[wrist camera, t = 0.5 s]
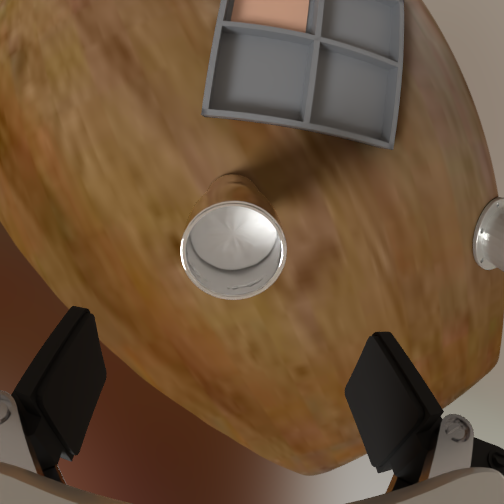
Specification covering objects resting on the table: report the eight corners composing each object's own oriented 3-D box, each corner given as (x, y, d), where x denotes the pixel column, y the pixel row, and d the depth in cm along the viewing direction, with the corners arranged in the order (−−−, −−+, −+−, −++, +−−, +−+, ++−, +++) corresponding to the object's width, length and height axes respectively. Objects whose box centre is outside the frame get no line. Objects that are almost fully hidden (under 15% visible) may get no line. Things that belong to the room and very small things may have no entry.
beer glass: (199, 170, 30) (172, 199, 16) (265, 169, 30) (293, 197, 17) (202, 232, 33) (182, 303, 19) (263, 231, 33) (287, 301, 19)
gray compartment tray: (392, 7, 23) (403, 0, 20) (380, 148, 30) (393, 149, 27) (231, -33, 20) (232, -45, 18) (204, 116, 28) (201, 114, 25)
